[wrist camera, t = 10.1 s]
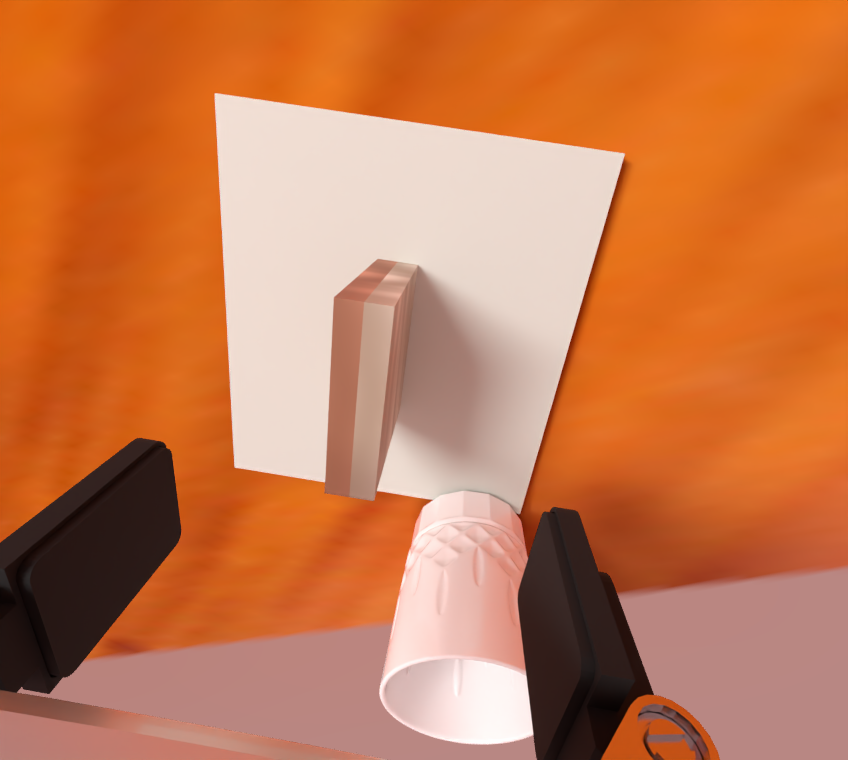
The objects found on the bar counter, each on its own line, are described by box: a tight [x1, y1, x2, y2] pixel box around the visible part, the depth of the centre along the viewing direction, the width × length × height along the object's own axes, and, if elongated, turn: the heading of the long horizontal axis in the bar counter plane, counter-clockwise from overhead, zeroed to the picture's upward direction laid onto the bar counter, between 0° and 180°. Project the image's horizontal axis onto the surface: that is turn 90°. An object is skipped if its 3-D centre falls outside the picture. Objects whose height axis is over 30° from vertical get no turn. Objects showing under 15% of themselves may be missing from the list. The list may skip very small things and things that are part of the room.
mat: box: [215, 93, 625, 514], centre depth 23 cm, size 18×20×1 cm
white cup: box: [379, 490, 533, 744], centre depth 24 cm, size 8×8×10 cm
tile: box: [325, 259, 418, 501], centre depth 20 cm, size 2×8×8 cm, turn 173°
